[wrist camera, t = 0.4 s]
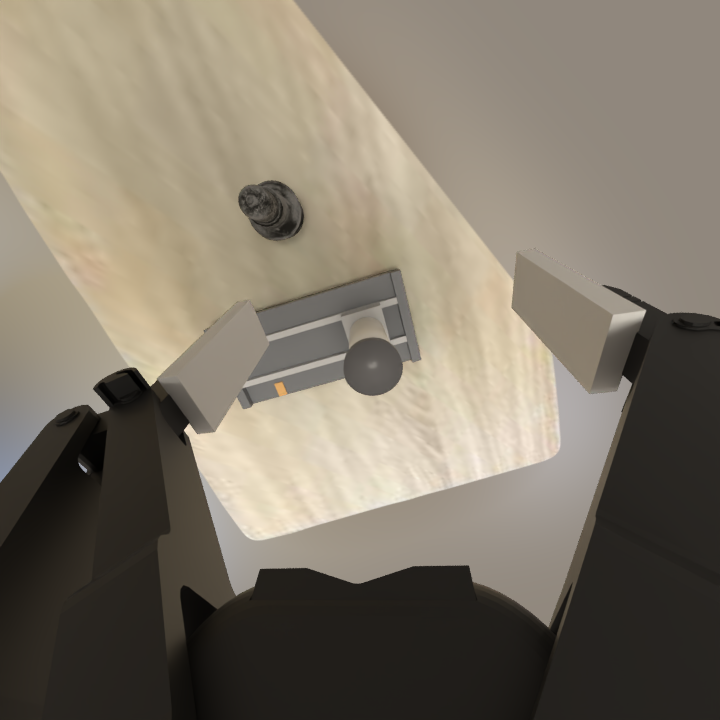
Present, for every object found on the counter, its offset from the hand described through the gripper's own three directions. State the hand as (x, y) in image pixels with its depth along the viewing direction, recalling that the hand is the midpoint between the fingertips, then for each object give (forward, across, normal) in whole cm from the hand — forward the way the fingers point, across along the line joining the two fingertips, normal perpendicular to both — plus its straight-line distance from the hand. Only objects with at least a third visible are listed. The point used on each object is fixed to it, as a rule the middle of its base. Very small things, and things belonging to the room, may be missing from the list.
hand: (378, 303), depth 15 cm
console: (+21, -11, -13) cm, 27 cm away
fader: (+19, -4, -11) cm, 23 cm away
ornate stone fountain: (+25, -12, +3) cm, 27 cm away
